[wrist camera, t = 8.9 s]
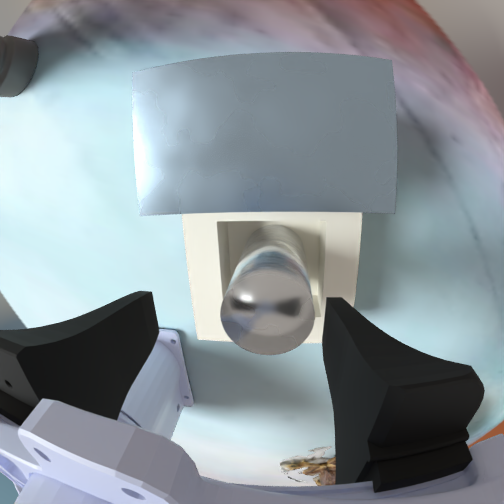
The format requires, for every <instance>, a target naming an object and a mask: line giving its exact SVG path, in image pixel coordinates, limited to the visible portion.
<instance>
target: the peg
mask: <svg viewBox="0 0 504 504" xmlns="http://www.w3.org/2000/svg"><path fill="white" fill-rule="evenodd" d="M220 318H221V323H222V326H223V328H224V330H225V332H226V334H227V335H228V337H229V338H230V339H231V340H232V341H233V342H234V343H235V344H237V345H238V346H240V347H241V348H243V349H245V350H247V351H250V352H252V353H256V354H261V355H277V354H282V353H286V352H288V351H291V350H293V349H295V348H296V347H298V346H299V345H301V344H302V343H303V342H304V341H305V340H306V339H307V338H308V336H309V335H310V333H311V331H312V329H313V326H314V321H315V311H314V304H313V298H312V292H311V285H310V279H309V273H308V267H307V262H306V256H305V250H304V245H303V243H302V241H301V239H300V237H299V236H298V235H297V234H296V233H295V232H294V231H293V230H291V229H290V228H288V227H286V226H283V225H277V224H272V225H266V226H263V227H261V228H259V229H257V230H256V231H254V232H253V233H252V234H251V236H250V237H249V238H248V240H247V242H246V245H245V247H244V250H243V252H242V255H241V257H240V259H239V262H238V264H237V267H236V269H235V272H234V274H233V277H232V279H231V282H230V284H229V287H228V289H227V291H226V294H225V296H224V299H223V301H222V305H221V310H220Z"/></svg>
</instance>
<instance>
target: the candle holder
mask: <svg viewBox="0 0 504 504" xmlns="http://www.w3.org/2000/svg"><path fill="white" fill-rule="evenodd" d="M37 60H38V46H37V45H36V43H35V42H34V41H30V40H26V39H22V38H18V37H14V36H8V35H7V36H5V37H1V36H0V97H14V96H17V95H19V94H20V93H21V92H22V91H23V90H24V89H25V88H26V86H27V85H28V83H29V81H30V80H31V78H32V76H33V73H34V71H35V69H36V65H37Z"/></svg>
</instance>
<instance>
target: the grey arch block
mask: <svg viewBox="0 0 504 504" xmlns="http://www.w3.org/2000/svg"><path fill="white" fill-rule="evenodd" d="M132 111H133V139H134V157H135V171H136V183H137V193H138V203H139V212H140V216H146V215H167V214H193V213H229V212H360V213H395V207H396V187H397V118H396V100H395V87H394V76H393V66H392V60H388V59H381V58H374V57H366V56H357V55H346V54H333V53H311V52H274V53H252V54H239V55H228V56H219V57H210V58H203V59H196V60H190V61H184V62H178V63H173V64H167V65H162V66H158V67H153V68H149V69H144V70H140V71H136V72H132Z"/></svg>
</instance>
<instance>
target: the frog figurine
mask: <svg viewBox="0 0 504 504" xmlns="http://www.w3.org/2000/svg"><path fill="white" fill-rule="evenodd" d="M330 448H331V447H330V446H329V447H319V448H316V449H312V450H309V451H313V452H315V453H314V454H311V455H308V456H307V457H305V456H295V457H291V458H288V459H284V460H282V461H280V467H281V472H285V473H284V474H288V473H287V472H289V471H290V470H295V469H300V468H301V469H302V471H300V472H299V474H300V473H301V474H302V472H303V474H305V475H311V476H313V475H317V474H319V476H317V477H315V478H313V481H315V482H316V484H317V486H327V485H335V477H336V457H334V458H331V459H329V460H328V459H324V458H321V457H322V456H323V455H324V454H325V451H326V450H328V449H330ZM288 478H290V477H288ZM290 479H293V478H290ZM293 480H295V481H297V482H304V483H307V481H303V480H296V479H293Z"/></svg>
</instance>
